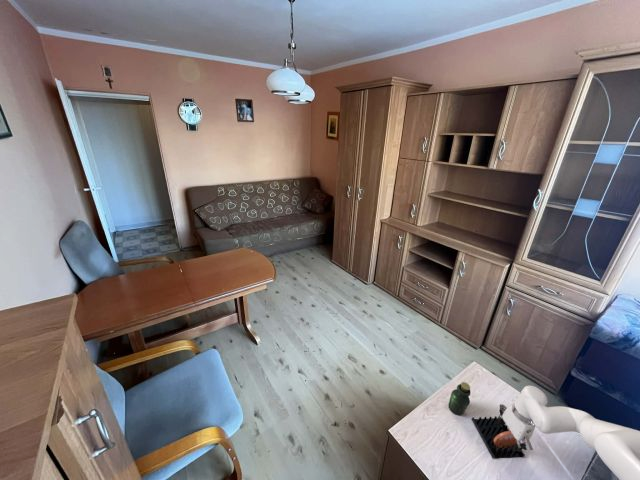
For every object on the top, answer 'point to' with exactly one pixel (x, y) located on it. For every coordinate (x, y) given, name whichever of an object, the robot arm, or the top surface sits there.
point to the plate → (505, 439)
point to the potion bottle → (460, 399)
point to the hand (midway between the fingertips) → (508, 436)
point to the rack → (489, 432)
